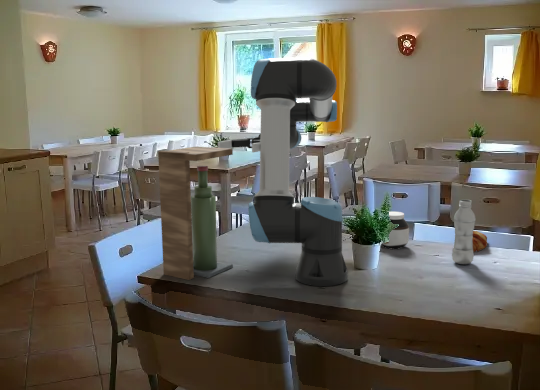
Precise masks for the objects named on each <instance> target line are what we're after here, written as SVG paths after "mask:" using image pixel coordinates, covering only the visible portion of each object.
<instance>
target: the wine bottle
mask: <svg viewBox="0 0 540 390" xmlns="http://www.w3.org/2000/svg"><path fill="white" fill-rule="evenodd" d="M196 171H197V183H198V184H197V185H195V186H194V187H193V188H194V192H193V193H194V195H191V215H192V244H193V268H194V269H196V270H201V271H206V270H213V269H215V268H217V263H218V244H217V243H218V242H217V241H218V240H217V239H218V238H217V237H218V236H217V234H218V232H217V202H216V201H217V200H216V199H217V197H216V195H214V194H213V186H212V185H208V184H209V183H208V182H209V181H208V171H209V166H208V165H197V166H196Z"/></svg>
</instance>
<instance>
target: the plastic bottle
mask: <svg viewBox="0 0 540 390" xmlns="http://www.w3.org/2000/svg"><path fill="white" fill-rule="evenodd" d="M472 201H473V200H470V199H459V201H458V202H459V203H458V209H457V210H456V212H455V214H454V215H453V216H454V217H453V222H454V223H453V225H454V243H453V248H452V253H451V257H452V261H453V262H454V263H455V264H459V265H470V264H471V263H472V262H473V261H474V252H473V243H472V238H473V236H472V235H473V231H474V230H475V223H476V214H475V213H474V211H473V210H472V209H471V208H472Z"/></svg>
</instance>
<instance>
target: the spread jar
mask: <svg viewBox="0 0 540 390" xmlns="http://www.w3.org/2000/svg"><path fill="white" fill-rule="evenodd" d="M388 212H389V217H390V220H391V222H392V223H393V224H399V226H398V227H397V228H395V229H393V230H392V231H391V232H390V234H389V239H390V241H389V242H386V243H382V244H380V245H381V246H382V247H384V248H385V247H386V248H385V249H389V248H392V249H391V250H399V249H398V248H400V249H402V248H404V247H406V245H408V244H409V239H410V227H409V223H408V222H407V221H406V219H405V213H404V212H401V211H388Z"/></svg>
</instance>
